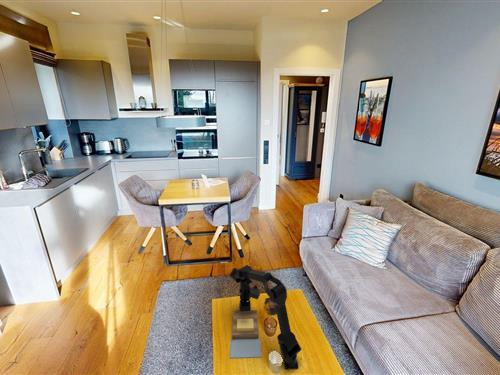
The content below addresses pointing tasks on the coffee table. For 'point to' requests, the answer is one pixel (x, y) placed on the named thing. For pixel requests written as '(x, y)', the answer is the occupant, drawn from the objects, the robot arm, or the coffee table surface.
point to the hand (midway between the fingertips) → (245, 308)
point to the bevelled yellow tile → (245, 325)
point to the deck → (245, 334)
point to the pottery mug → (270, 306)
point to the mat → (245, 348)
